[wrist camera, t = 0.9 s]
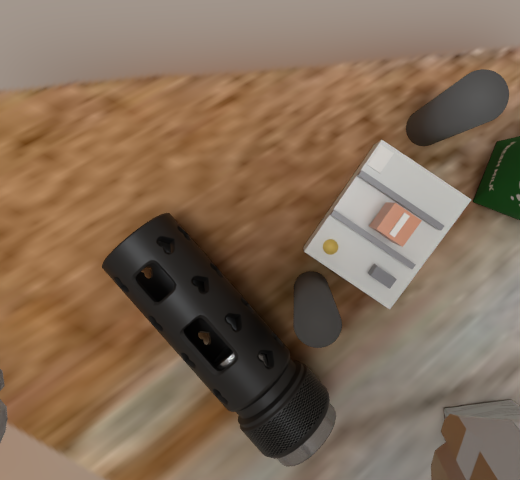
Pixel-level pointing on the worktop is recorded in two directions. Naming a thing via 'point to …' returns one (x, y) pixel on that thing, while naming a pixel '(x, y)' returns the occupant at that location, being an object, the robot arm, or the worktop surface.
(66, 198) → the worktop surface
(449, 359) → the worktop surface
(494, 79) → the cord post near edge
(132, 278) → the muzzle brake
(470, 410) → the skincare box
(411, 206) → the panel
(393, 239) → the block
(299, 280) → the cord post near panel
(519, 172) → the soya milk
